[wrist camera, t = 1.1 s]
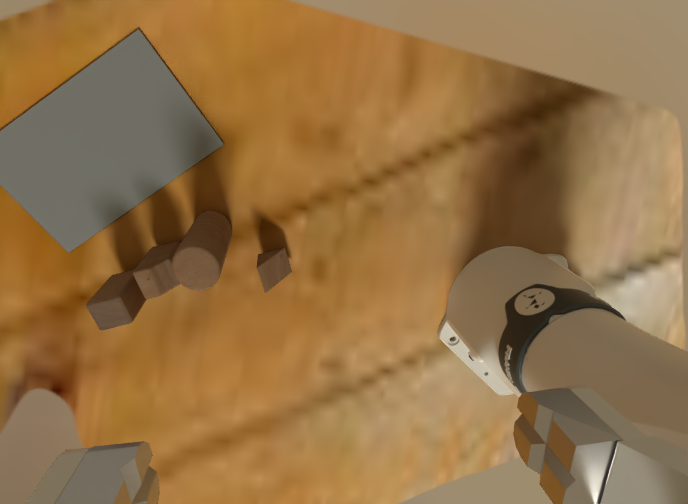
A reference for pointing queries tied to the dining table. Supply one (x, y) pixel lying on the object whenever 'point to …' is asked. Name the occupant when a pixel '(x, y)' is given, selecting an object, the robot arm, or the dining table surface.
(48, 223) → the mat
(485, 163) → the dining table surface
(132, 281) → the wooden block set
